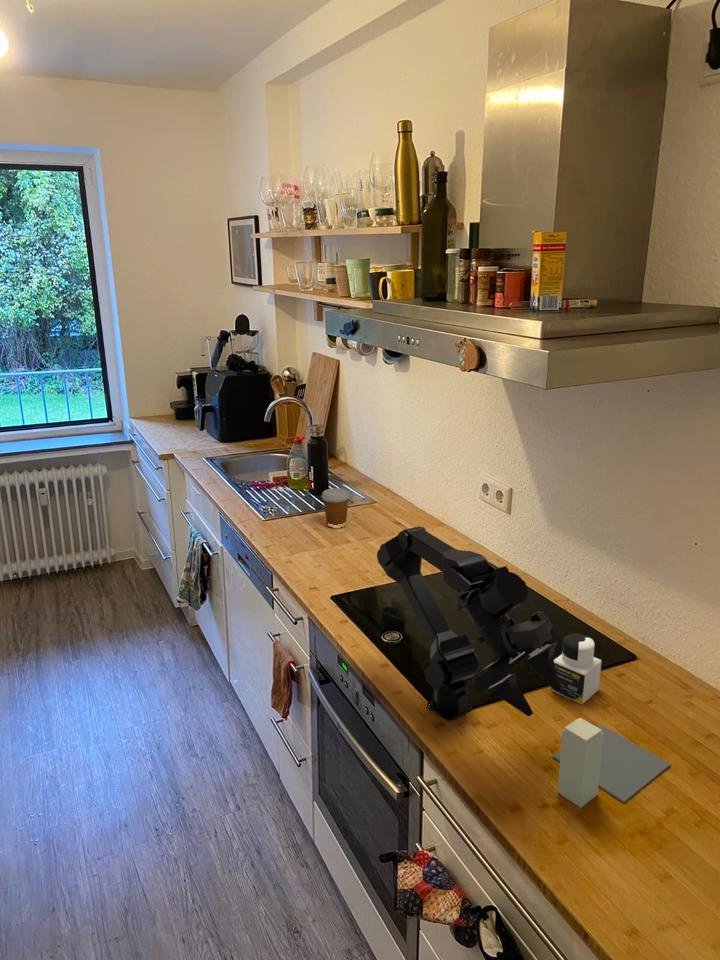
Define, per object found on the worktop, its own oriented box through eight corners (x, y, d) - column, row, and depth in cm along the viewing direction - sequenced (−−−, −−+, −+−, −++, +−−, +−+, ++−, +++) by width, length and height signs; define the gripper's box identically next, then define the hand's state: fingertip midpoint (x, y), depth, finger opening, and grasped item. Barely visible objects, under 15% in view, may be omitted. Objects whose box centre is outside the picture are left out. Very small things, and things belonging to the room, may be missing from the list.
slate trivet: (553, 757, 123) (553, 755, 123) (599, 726, 131) (600, 724, 131) (624, 803, 112) (624, 801, 112) (670, 765, 120) (670, 763, 120)
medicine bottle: (550, 690, 142) (553, 638, 138) (567, 676, 147) (571, 626, 143) (582, 705, 137) (586, 652, 133) (599, 690, 142) (604, 638, 138)
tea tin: (557, 792, 115) (562, 727, 111) (574, 780, 117) (579, 716, 114) (580, 807, 111) (586, 741, 108) (597, 795, 114) (603, 730, 110)
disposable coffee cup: (316, 527, 234) (315, 493, 231) (334, 518, 242) (333, 486, 238) (338, 532, 229) (337, 498, 225) (356, 524, 236) (355, 490, 233)
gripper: (490, 623, 109) (549, 712, 104) (551, 584, 121) (606, 663, 117) (449, 649, 116) (502, 734, 112) (511, 610, 129) (560, 685, 125)
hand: (545, 702), depth 116 cm, fingers open, 9 cm apart
